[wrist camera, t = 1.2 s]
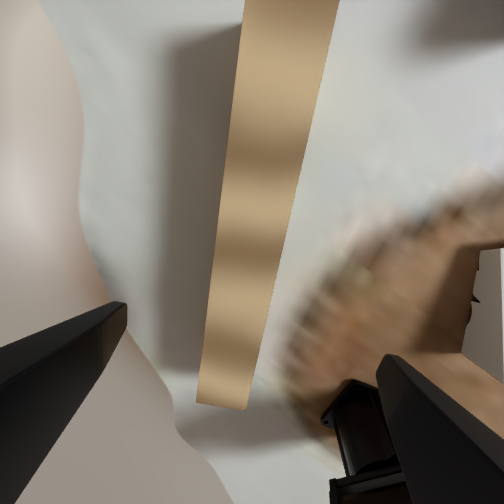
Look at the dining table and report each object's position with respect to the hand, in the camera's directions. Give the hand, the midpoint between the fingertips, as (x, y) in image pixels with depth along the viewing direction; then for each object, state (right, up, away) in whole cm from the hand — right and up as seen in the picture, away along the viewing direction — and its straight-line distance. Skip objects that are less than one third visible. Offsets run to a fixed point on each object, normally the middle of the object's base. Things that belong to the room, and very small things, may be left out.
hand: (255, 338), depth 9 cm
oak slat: (0, +4, +12) cm, 12 cm away
